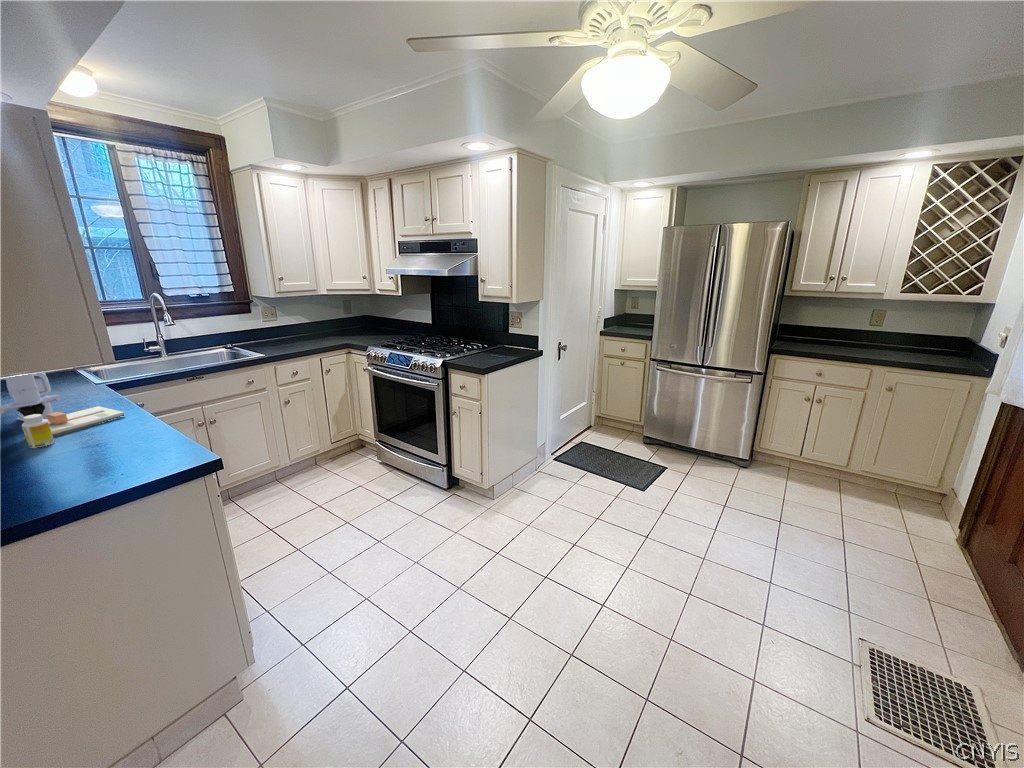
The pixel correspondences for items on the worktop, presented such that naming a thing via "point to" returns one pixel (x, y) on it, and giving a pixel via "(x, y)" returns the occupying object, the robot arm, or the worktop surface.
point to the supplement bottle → (37, 431)
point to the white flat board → (84, 419)
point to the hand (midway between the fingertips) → (37, 426)
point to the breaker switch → (57, 418)
